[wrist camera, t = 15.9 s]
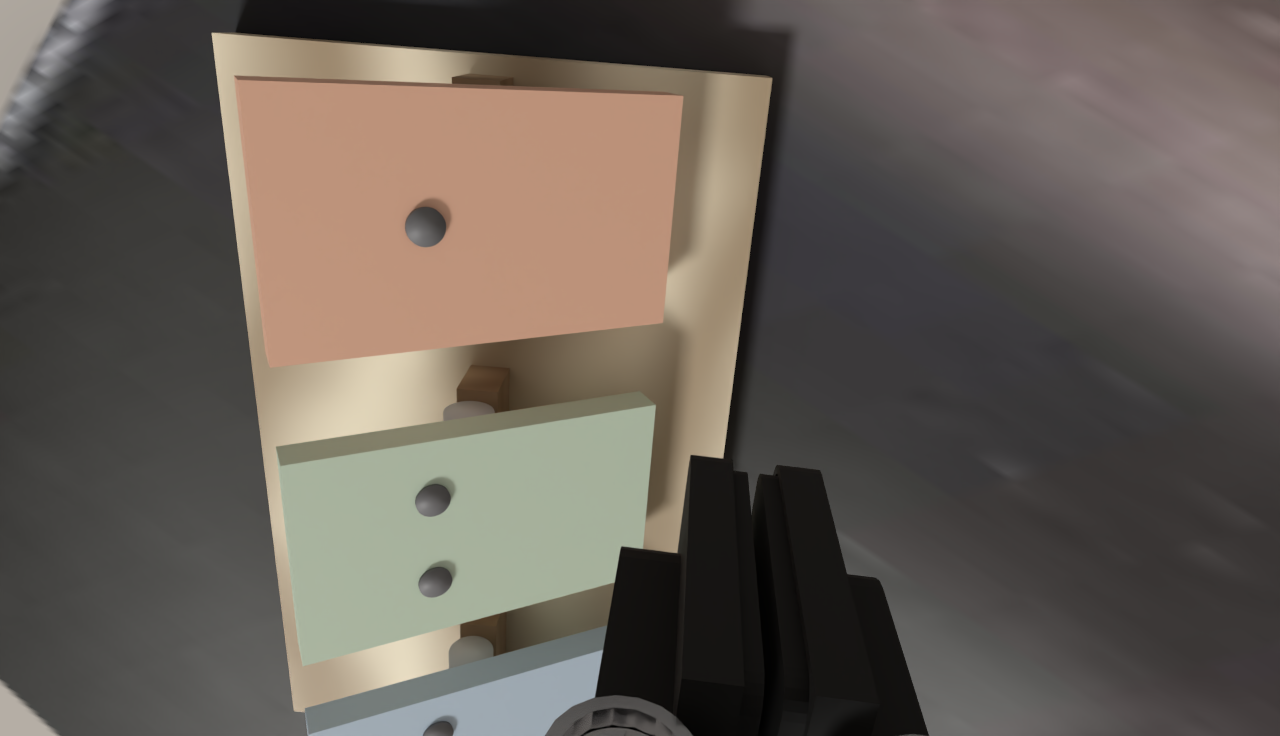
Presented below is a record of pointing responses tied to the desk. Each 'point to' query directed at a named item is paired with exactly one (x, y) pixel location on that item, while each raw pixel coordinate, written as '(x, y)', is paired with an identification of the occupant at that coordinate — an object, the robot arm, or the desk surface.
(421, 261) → the tile
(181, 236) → the desk surface
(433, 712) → the tile
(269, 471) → the board
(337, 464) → the tile
